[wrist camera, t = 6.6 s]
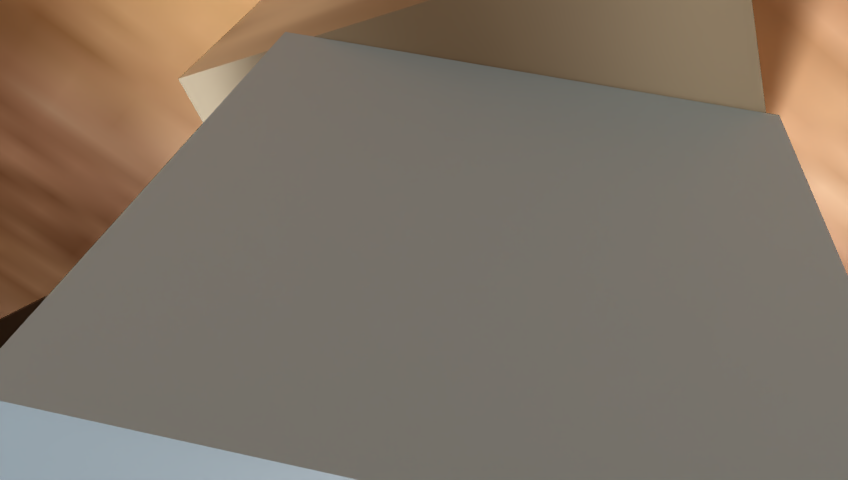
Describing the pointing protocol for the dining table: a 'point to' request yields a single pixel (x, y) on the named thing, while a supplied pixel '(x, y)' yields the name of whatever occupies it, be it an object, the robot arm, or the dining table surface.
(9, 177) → the dining table surface
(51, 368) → the blue cube
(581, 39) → the birch block
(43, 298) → the robot arm
